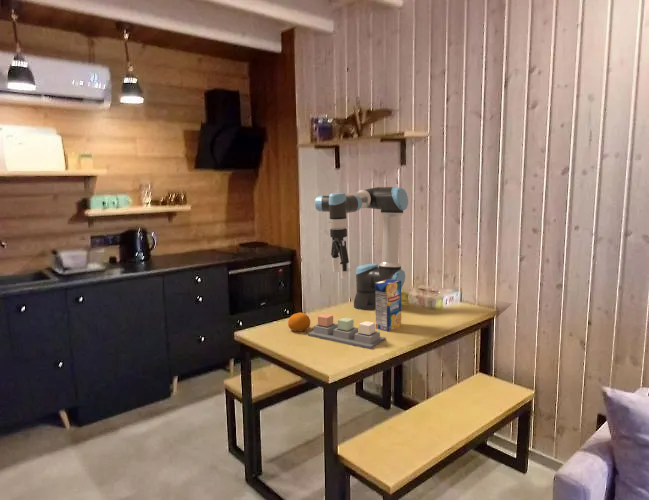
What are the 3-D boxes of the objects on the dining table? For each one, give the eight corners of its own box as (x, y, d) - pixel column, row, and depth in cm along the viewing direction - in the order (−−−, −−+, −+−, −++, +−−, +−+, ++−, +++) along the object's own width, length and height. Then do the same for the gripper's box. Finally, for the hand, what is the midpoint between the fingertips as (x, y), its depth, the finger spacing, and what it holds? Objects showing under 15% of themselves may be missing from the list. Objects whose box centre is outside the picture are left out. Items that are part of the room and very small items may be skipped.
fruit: (286, 327, 235) (286, 311, 233) (308, 325, 237) (307, 309, 235) (289, 334, 225) (289, 317, 223) (312, 332, 227) (311, 315, 225)
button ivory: (365, 329, 214) (365, 321, 213) (375, 331, 211) (375, 322, 211) (359, 333, 210) (359, 324, 209) (369, 335, 207) (369, 326, 207)
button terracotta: (324, 322, 227) (324, 313, 226) (333, 323, 224) (333, 315, 223) (318, 324, 223) (317, 316, 222) (327, 326, 220) (326, 318, 219)
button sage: (344, 325, 220) (344, 317, 220) (353, 327, 218) (353, 318, 217) (338, 328, 216) (337, 320, 216) (347, 330, 214) (347, 321, 213)
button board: (324, 327, 233) (324, 319, 232) (385, 340, 213) (385, 331, 213) (307, 335, 222) (307, 326, 221) (370, 349, 203) (370, 339, 202)
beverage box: (375, 328, 230) (375, 282, 226) (389, 323, 237) (389, 278, 234) (387, 331, 225) (386, 285, 221) (401, 325, 232) (401, 280, 229)
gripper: (323, 225, 227) (325, 270, 231) (337, 232, 203) (339, 281, 207) (338, 224, 229) (340, 268, 232) (355, 231, 205) (356, 280, 209)
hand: (340, 275), depth 220 cm, fingers open, 13 cm apart
